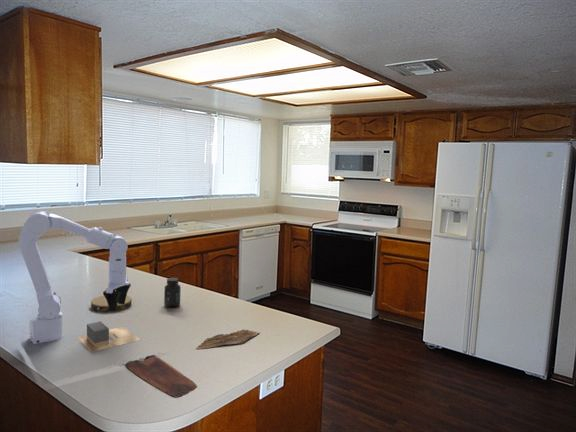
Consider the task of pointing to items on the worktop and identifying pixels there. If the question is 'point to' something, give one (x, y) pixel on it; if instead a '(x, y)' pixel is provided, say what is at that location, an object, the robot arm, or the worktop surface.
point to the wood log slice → (102, 305)
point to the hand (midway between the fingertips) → (117, 307)
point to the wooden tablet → (162, 376)
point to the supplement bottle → (172, 293)
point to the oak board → (111, 339)
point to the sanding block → (97, 333)
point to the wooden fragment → (228, 339)
